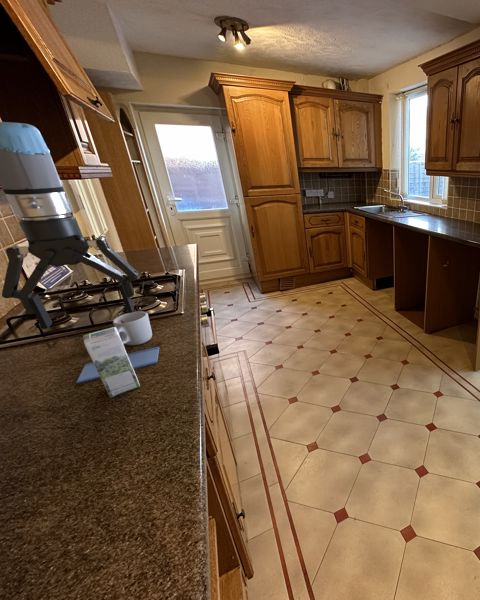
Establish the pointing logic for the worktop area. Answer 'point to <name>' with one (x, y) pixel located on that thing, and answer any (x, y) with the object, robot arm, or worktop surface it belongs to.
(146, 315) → the cup
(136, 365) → the cloth
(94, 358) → the syrup box
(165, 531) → the worktop surface
